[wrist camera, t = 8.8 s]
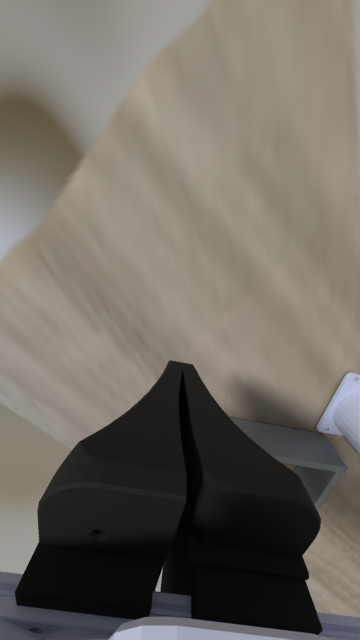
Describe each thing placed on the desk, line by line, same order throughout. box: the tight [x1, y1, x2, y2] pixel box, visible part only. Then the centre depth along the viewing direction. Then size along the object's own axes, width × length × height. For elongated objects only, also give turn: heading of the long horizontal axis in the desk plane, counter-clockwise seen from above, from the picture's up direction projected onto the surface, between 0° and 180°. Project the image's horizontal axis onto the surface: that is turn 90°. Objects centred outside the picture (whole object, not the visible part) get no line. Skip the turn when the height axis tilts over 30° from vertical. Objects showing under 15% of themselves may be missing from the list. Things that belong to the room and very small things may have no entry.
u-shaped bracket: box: [229, 417, 347, 511], centre depth 25 cm, size 12×18×4 cm
